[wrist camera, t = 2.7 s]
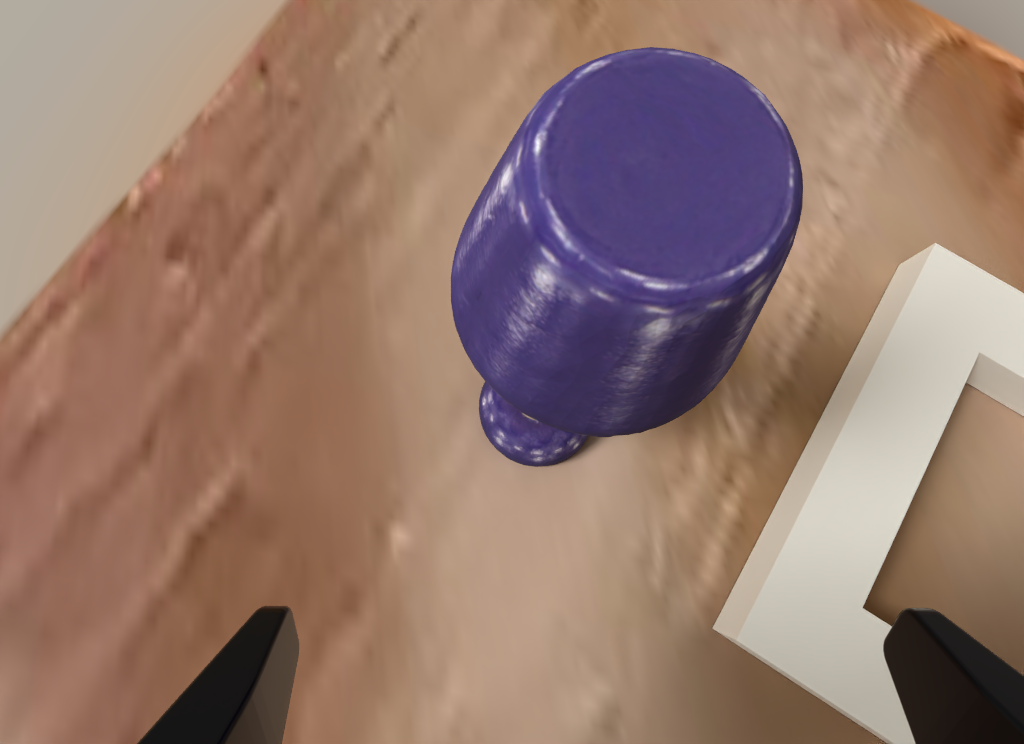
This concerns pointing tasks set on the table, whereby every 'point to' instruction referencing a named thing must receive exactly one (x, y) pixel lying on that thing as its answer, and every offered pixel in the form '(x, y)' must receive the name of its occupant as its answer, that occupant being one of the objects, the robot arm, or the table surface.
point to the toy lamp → (622, 250)
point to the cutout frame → (872, 483)
